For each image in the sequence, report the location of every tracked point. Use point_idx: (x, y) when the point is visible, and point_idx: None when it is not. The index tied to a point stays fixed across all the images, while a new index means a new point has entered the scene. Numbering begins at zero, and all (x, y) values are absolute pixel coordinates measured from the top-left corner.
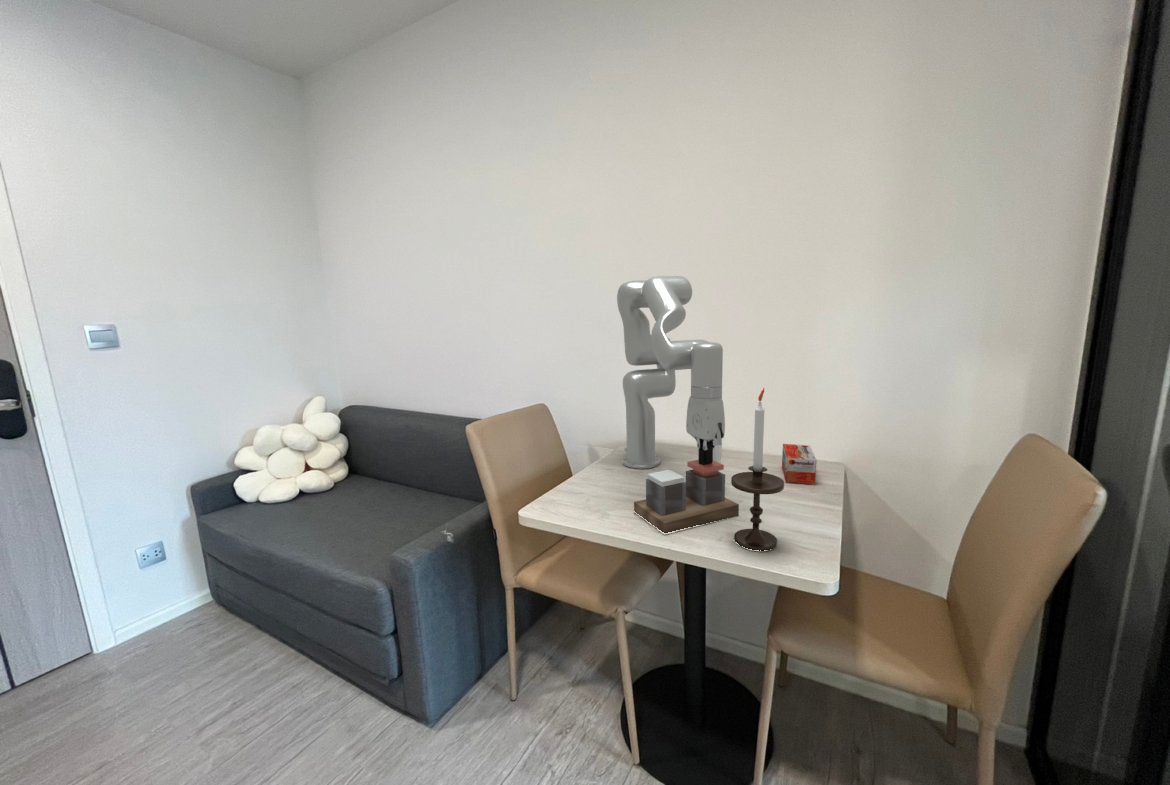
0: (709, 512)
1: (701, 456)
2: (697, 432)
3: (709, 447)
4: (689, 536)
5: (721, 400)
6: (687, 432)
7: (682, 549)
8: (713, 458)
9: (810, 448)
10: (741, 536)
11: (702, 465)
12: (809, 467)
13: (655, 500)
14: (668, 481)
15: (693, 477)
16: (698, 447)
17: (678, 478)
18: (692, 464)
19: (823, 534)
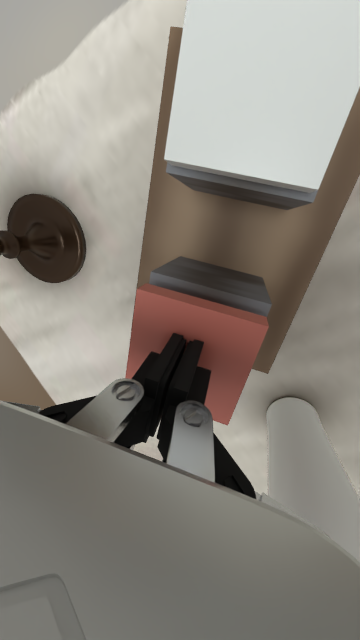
0: (143, 238)
1: (170, 355)
2: (71, 512)
3: (85, 398)
4: (136, 128)
5: None
6: (345, 552)
7: (94, 41)
8: (277, 482)
9: None
10: (64, 228)
11: (173, 328)
12: None
13: None
14: (188, 9)
15: (213, 284)
16: (197, 404)
17: (173, 111)
18: (222, 312)
19: (25, 348)
